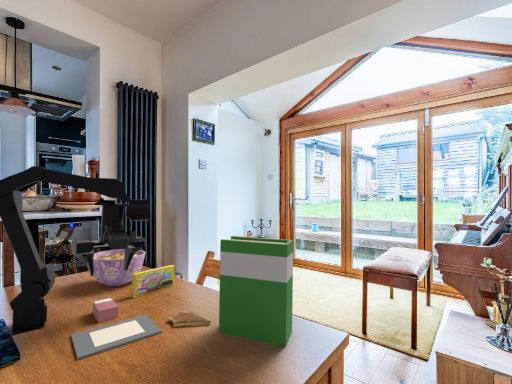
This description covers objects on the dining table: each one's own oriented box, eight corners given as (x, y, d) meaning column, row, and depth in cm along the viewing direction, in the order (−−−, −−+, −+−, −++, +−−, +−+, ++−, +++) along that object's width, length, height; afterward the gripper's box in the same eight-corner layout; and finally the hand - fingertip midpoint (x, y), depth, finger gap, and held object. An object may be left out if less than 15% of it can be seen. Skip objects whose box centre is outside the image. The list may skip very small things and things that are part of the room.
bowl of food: (106, 295, 92) (107, 262, 92) (78, 285, 102) (78, 255, 103) (155, 280, 109) (155, 252, 109) (126, 272, 119) (127, 247, 120)
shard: (211, 326, 72) (211, 320, 72) (188, 338, 66) (188, 330, 66) (187, 314, 79) (187, 308, 79) (164, 324, 73) (164, 317, 73)
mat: (77, 359, 56) (77, 357, 56) (70, 336, 65) (71, 334, 65) (161, 332, 68) (161, 330, 68) (146, 316, 77) (146, 314, 77)
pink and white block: (98, 323, 72) (98, 310, 72) (92, 314, 78) (92, 301, 78) (118, 318, 76) (118, 305, 76) (111, 309, 82) (111, 297, 82)
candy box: (134, 298, 90) (134, 274, 90) (130, 297, 91) (131, 273, 91) (174, 286, 103) (174, 265, 103) (171, 285, 104) (171, 264, 104)
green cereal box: (218, 333, 68) (220, 239, 68) (230, 320, 75) (232, 236, 76) (285, 346, 62) (287, 244, 63) (292, 331, 69) (293, 240, 70)
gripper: (83, 224, 67) (79, 286, 66) (154, 222, 80) (152, 273, 80) (72, 220, 74) (69, 276, 74) (139, 219, 88) (136, 266, 87)
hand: (109, 273), depth 78 cm, fingers open, 9 cm apart
